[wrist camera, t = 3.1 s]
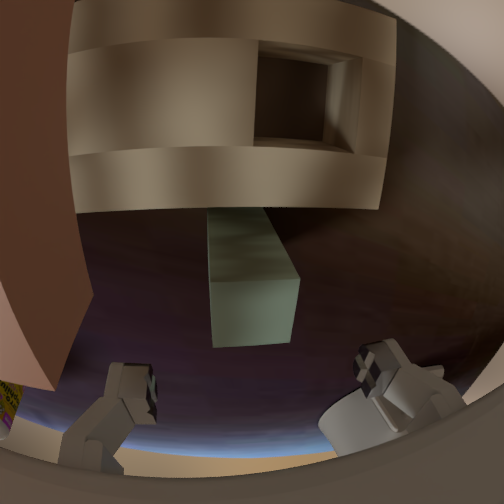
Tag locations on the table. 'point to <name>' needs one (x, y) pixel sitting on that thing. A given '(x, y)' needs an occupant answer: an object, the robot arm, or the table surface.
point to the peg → (249, 279)
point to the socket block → (228, 104)
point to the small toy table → (37, 197)
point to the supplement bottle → (9, 405)
